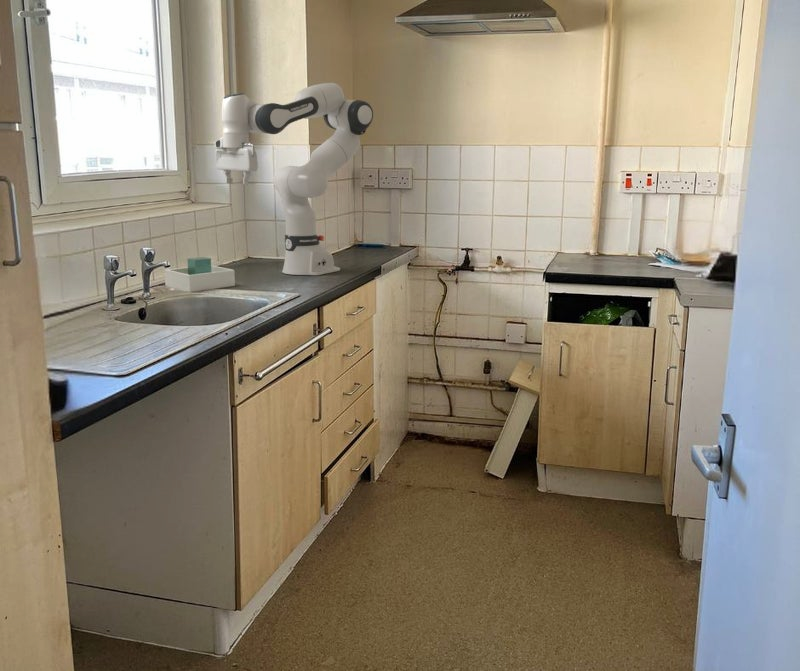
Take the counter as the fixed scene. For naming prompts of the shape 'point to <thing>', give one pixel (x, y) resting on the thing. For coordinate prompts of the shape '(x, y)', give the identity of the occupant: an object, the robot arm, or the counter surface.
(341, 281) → the counter surface
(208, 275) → the tote
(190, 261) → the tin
